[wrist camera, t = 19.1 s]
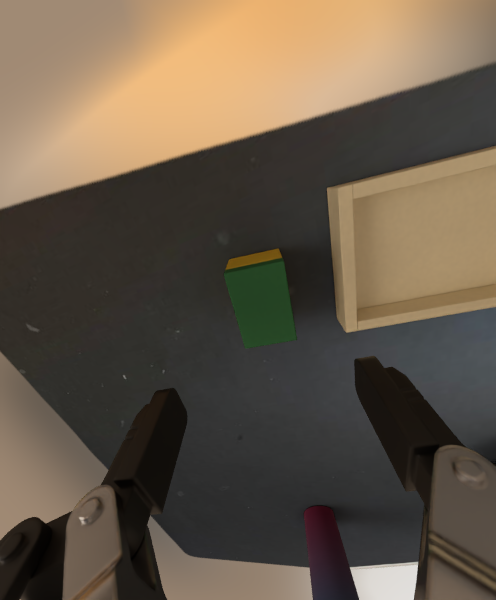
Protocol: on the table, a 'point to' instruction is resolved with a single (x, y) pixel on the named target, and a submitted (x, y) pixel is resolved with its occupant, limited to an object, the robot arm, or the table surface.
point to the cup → (327, 557)
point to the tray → (415, 242)
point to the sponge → (261, 298)
